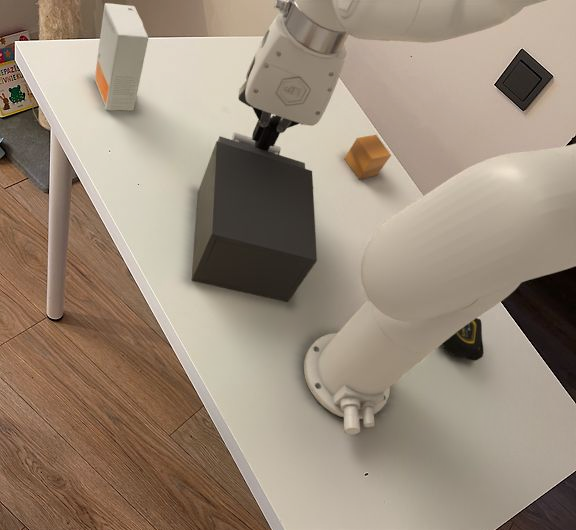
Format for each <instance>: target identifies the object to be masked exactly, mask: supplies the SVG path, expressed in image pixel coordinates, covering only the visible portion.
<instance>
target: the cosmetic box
mask: <svg viewBox="0 0 576 530" xmlns="http://www.w3.org/2000/svg"><path fill="white" fill-rule="evenodd" d="M148 42H149V36H148V33H147V31H146V28H145V25H144V23H143V20H142V19H141V17H140V15H139V13H138V11H137V9H136V7H135V6H134V5H129V4H128V5H126V4H119V3H110V2H106V3H104V6H103V13H102V21H101V28H100V36H99V42H98V51H97V57H96V64H95V71H94V79H93V80H94V83H95V84H96V87H97V89H98V91H99V94H100V96H101V99H102V102H103V104H104V107H105V110H106V111H134V110H135V107H136V101H137V97H138V92H139V86H140V82H141V75H142V72H143V66H144V62H145V57H146V54H147V53H146V52H147V47H148Z"/></svg>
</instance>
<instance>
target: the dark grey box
mask: <svg viewBox="0 0 576 530" xmlns="http://www.w3.org/2000/svg"><path fill="white" fill-rule="evenodd" d="M217 141H218V142H221V143H224V144H227V145H231V146H234V147H237V148H240V149H243V150H247V151H250V152H253V153H256V154H260V155H263V156H266V157H269V158H272V159H276V160H279V161H282V162H285V163H288V164H292V165H295V166H298V167H301V168H304V169H306V163H305V162H303V161H300V160H297V159H293V158H290V157H287V156H284V155H281V150H282V149H281V146H279V145H276V144H274V146H273V147H272V146H270V148H269V150H268V151H265V150H262V149H259V148H256V147H255V141H254V140H252V136H248V135H244V134H242V133H238V132H236V131H234V132H233V133H232V136H231V139H230V138H227V137H224V136H221V135H220V136H218V138H217Z"/></svg>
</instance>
